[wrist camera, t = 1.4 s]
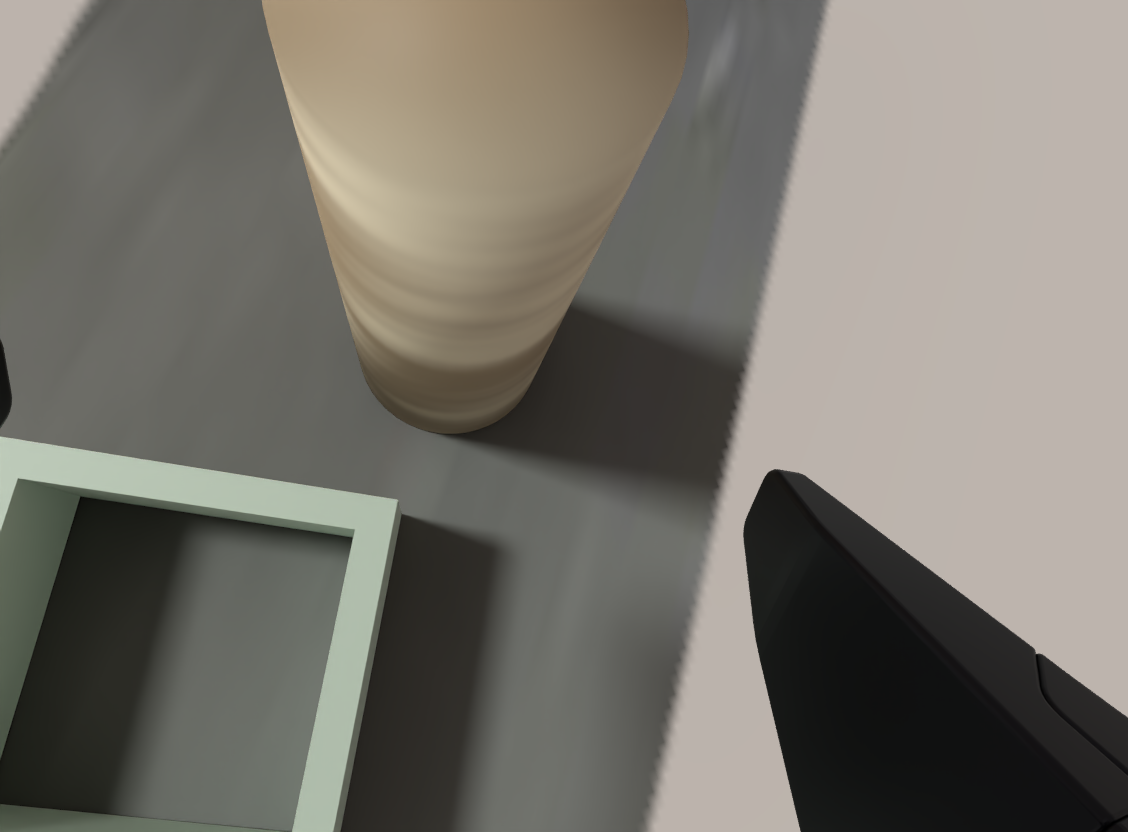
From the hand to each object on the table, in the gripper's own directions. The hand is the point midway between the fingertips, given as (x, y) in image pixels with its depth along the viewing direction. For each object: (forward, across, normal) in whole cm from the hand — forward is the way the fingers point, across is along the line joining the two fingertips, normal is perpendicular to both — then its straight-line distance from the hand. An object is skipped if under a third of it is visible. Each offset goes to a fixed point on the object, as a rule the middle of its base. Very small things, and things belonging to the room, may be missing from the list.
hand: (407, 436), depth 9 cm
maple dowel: (+12, 0, +5) cm, 13 cm away
